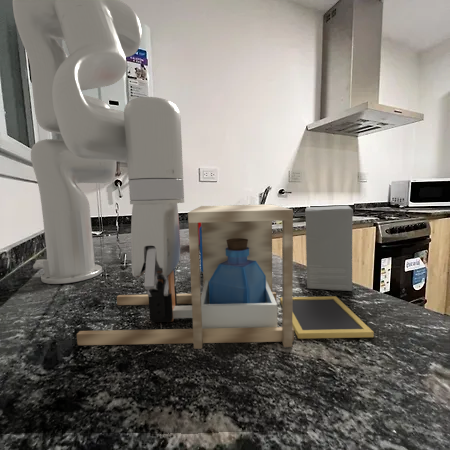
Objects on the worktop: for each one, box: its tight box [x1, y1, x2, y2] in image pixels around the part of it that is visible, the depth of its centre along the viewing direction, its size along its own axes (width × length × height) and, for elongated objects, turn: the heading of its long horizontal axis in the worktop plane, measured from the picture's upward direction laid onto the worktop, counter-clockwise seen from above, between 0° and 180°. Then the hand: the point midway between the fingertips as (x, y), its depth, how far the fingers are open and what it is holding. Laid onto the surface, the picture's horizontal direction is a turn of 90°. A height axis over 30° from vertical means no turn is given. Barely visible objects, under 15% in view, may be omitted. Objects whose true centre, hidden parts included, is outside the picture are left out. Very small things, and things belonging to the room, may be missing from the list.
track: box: [76, 291, 295, 346], centre depth 39 cm, size 28×13×2 cm, turn 89°
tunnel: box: [187, 203, 294, 350], centre depth 38 cm, size 12×15×17 cm
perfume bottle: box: [209, 238, 266, 304], centre depth 38 cm, size 6×6×12 cm
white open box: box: [157, 270, 278, 329], centre depth 39 cm, size 18×10×7 cm, turn 89°
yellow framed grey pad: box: [279, 295, 375, 340], centre depth 39 cm, size 10×12×1 cm
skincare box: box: [305, 205, 354, 292], centre depth 51 cm, size 8×7×16 cm
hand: (164, 314), depth 39 cm, fingers closed on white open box, 2 cm apart
